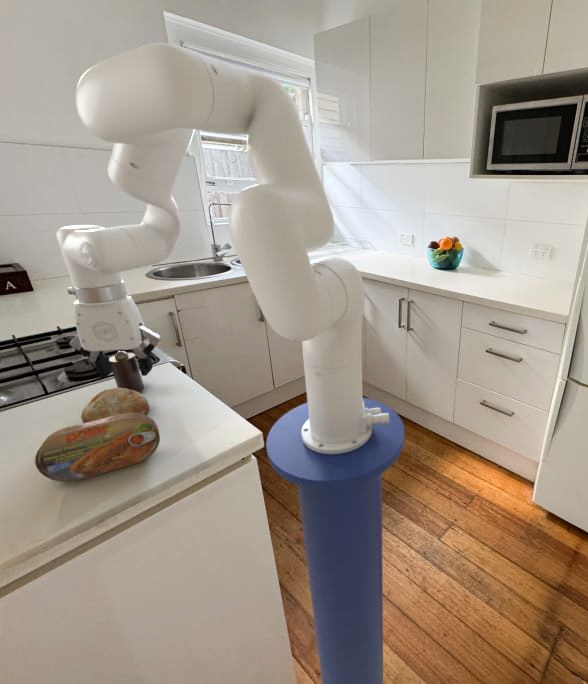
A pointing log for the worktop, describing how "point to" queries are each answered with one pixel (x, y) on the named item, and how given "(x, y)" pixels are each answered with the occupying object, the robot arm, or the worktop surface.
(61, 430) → the tin
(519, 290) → the worktop surface
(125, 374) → the pepper mill
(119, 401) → the bread roll
